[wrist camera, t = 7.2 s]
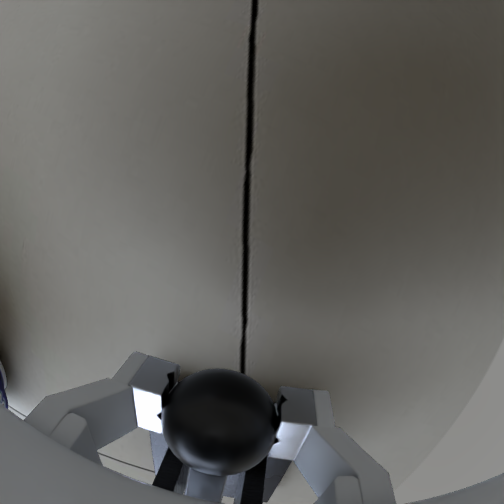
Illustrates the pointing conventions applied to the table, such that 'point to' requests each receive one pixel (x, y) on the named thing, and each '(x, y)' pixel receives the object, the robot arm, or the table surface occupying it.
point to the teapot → (3, 387)
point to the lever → (218, 428)
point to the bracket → (237, 486)
